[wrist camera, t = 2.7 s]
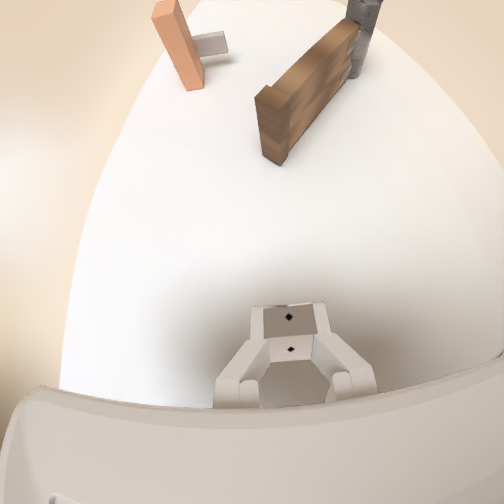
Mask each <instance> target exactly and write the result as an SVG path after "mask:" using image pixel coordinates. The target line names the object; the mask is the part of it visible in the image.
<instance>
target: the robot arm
mask: <svg viewBox="0 0 504 504" xmlns="http://www.w3.org/2000/svg"><path fill="white" fill-rule="evenodd" d="M296 360H311V361H312V362H313V363H314V365H315V366H316V367H317V368H318V369H319V371H320V372H321V373H322V374H323V376H324V377H325V378H326V379H327V380H328V382H329V383H330V386H329V389H328V393H327V396H326V399H325V403H318V404H309V405H299V406H287V407H272V408H263V405H262V400H261V395H260V389H259V383H260V381H261V379H262V378H263V376H264V374H265V373H266V371H267V369H268V368H269V366H270V364H271V363H274V362H284V361H296ZM0 504H504V352H503V353H502V355H501V356H500V357H499V358H496V359H494V360H491V361H489V362H486V363H484V364H481V365H479V366H476V367H473V368H470V369H468V370H465V371H462V372H459V373H456V374H453V375H450V376H446V377H443V378H440V379H437V380H433V381H430V382H426V383H423V384H419V385H415V386H411V387H407V388H403V389H399V390H394V391H390V392H385V393H380V394H379V392H378V388H377V384H376V380H375V376H374V372H373V368H372V366H371V365H370V364H369V363H368V362H367V361H365V360H364V359H363V358H362V357H361V356H360V355H359V354H358V353H357V352H356V351H355V350H353V349H352V348H351V347H350V346H349V345H348V344H347V343H346V342H345V341H344V340H343V339H341V338H340V337H339V336H338V335H337V334H336V333H331V328H330V324H329V319H328V315H327V310H326V306H325V303H324V301H320V302H312V303H311V302H308V303H298V304H288V305H276V306H257V307H251V309H250V340H246V341H245V342H244V344H243V345H242V346H241V348H240V349H239V350H238V352H237V353H236V354H235V355H234V357H233V358H232V359H231V361H230V362H229V363H228V364H227V366H226V367H225V368H224V369H223V371H222V372H221V373H220V375H219V376H218V377H217V378H216V380H215V389H214V401H213V409H207V408H184V407H169V406H157V405H147V404H139V403H131V402H123V401H116V400H110V399H104V398H98V397H93V396H88V395H83V394H78V393H73V392H69V391H65V390H60V389H56V388H52V387H48V386H44V385H40V386H38V387H36V388H35V389H33V390H32V391H31V392H30V393H29V394H27V395H26V396H25V397H24V398H23V399H22V400H21V401H20V402H19V403H18V405H17V406H16V408H15V410H14V412H13V414H12V416H11V419H10V422H9V425H8V428H7V431H6V434H5V438H4V441H3V445H2V448H1V452H0Z"/></svg>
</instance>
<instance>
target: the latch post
mask: <svg viewBox="0 0 504 504" xmlns="http://www.w3.org/2000/svg"><path fill="white" fill-rule="evenodd" d="M151 19H152V21H153V23H154V25H155V27H156V29H157V31H158V33H159V35H160V37H161V39H162V42H163V44H164V46H165V48H166V50H167V52H168V54H169V56H170V58H171V60H172V62H173V64H174V66H175V68H176V70H177V72H178V74H179V76H180V78H181V80H182V83H183V85H184V87H185V89H186V91H191V90H196V89H202V88H203V85H204V69H203V67H202V64H201V61H200V57H205V56H211V55H217V54H224V53H228V47H227V43H226V39H225V35H224V31H220V32H213V33H207V34H202V35H197V36H192V37H191V34H190V31H189V29H188V26H187V23H186V21H185V18H184V15H183V13H182V10H181V7H180V5H179V2H178V0H164V1H160V2H157V3H156V5H155V8H154V11H153V14H152V18H151Z"/></svg>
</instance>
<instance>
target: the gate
mask: <svg viewBox="0 0 504 504" xmlns="http://www.w3.org/2000/svg"><path fill="white" fill-rule="evenodd" d="M359 27H360V25H358V24H356V23H353V22H351V21H349V20H347V19H345V18H344V19H343V20H341V21H340V22H339V23H338V24H337V25H336V26H335V27H333V28H332V29H331V30H330V31H329V32H328V33H327V34H325V35H324V36H323V37H322V38H321V39H320V40H319V41H318V42H317V43H316V44H315V45H313V46H312V47H311V48H310V49H309V50H308V51H307V52H306V53H305V54H304V55H303V56H302V57H301V58H300V59H299V60H298V61H297V62H296V63H295V64H294V65H293V66H292V67H291V68H290V69H289V70H288V71H287V72H286V73H285V74H284V75H283V76H282V77H281V78H280V79H279V80H278V81H277V82H276V83H275V84H274V85H273V86H272V87H270V86H267V85H266V86H265V87H264V88H263V89H262V90H261V91H260V92H259V93H258V94H257V95H256V96H255V97H254V98H255V105H256V112H257V119H258V126H259V133H260V140H261V147H262V154H263V156H265V157H267V158H268V159H270V160H271V161H273V162H275V163H276V164H278V165H279V166H280V165H281V164H282V162H283V161H284V160H285V159H286V157H287V156H288V151H289V150H290V149H291V148H292V146H293V145H294V144H295V143H296V141H297V140H298V139H299V138H300V136H301V135H302V134H303V133H304V131H305V130H306V129H307V128H308V126H309V125H310V124H311V123H312V121H313V120H314V119H315V118H316V116H317V115H318V114H319V113H320V111H321V110H322V109H323V108H324V107H325V105H326V104H327V103H328V102H329V100H330V99H331V98H332V97H333V96H334V94H335V93H336V92H337V91H338V89H339V88H340V87H341V86H342V85H343V83H344V82H345V80H346V78H347V77H348V75H349V73H350V70H351V66H352V63H351V62H350V61H351V58H352V54H353V50H354V48H355V47H356V46H357V44H358V41H359V37H360V33H361V31H360V30H359Z"/></svg>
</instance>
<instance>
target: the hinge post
mask: <svg viewBox="0 0 504 504" xmlns="http://www.w3.org/2000/svg"><path fill="white" fill-rule="evenodd" d="M382 2H383V0H349V1H348V6H347V11H346V17H345V19H347V20H349V21H351V22H353V23H356V24H358V25H360V27H359V30H360V31H361V33H360V37H359V41H358V44H357V46H356V47H355V48H354V50H353V54H352V58H351V61H350V62H351V63H352V66H351V70H350V73H349V75H348V77H347V79H355V78H357V77H358V76H359V74H360V71H361V68H362V65H363V62H364V59H365V56H366V53H367V50H368V46H369V43H370V40H371V37H372V34H373V30H374V27H375V24H376V20H377V17H378V14H379V10H380V7H381V3H382Z"/></svg>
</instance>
